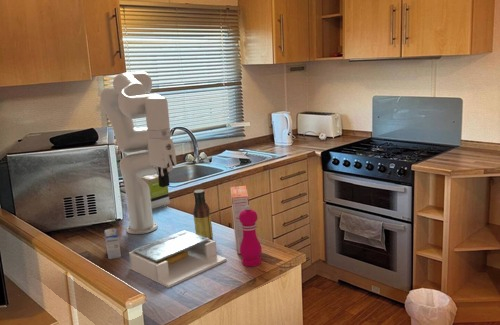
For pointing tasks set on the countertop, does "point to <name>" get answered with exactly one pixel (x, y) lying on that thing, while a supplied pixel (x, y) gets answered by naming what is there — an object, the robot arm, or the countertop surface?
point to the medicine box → (112, 243)
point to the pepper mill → (249, 238)
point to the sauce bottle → (202, 215)
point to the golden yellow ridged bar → (174, 257)
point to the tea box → (156, 191)
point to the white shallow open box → (178, 264)
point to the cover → (170, 245)
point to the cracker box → (238, 211)
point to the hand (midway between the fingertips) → (164, 185)
